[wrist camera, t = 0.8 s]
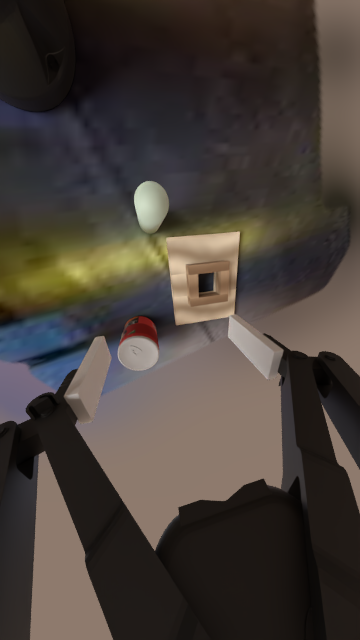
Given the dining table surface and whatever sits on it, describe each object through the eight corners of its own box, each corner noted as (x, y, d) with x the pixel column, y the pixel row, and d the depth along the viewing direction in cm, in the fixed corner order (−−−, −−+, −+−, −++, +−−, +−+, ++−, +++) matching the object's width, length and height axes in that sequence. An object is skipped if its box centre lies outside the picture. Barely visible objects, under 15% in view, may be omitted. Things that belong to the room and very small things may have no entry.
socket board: (166, 238, 32) (168, 236, 29) (236, 232, 35) (247, 230, 31) (175, 323, 41) (178, 330, 37) (231, 314, 43) (239, 320, 40)
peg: (137, 210, 30) (130, 181, 17) (158, 209, 30) (166, 180, 18) (141, 234, 31) (138, 223, 19) (160, 233, 32) (170, 221, 19)
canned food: (133, 309, 37) (128, 330, 27) (161, 323, 40) (167, 347, 30) (118, 334, 39) (109, 363, 29) (147, 346, 42) (147, 375, 32)
